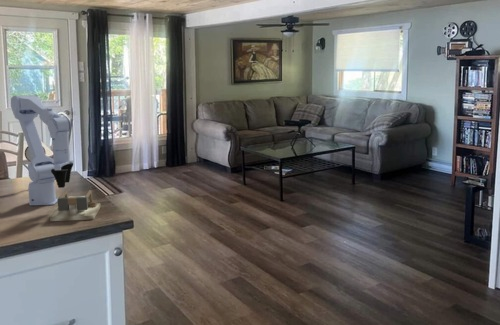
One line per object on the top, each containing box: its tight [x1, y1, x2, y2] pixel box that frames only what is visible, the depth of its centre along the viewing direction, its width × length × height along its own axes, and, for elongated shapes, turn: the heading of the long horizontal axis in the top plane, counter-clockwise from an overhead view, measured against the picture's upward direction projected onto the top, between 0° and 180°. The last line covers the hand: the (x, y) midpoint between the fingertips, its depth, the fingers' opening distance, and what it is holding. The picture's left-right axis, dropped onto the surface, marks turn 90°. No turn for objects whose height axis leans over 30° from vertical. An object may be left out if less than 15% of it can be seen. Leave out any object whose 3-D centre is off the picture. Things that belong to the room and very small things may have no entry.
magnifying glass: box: [24, 146, 47, 163], centre depth 213 cm, size 9×2×20 cm, turn 126°
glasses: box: [57, 189, 93, 211], centre depth 177 cm, size 10×11×4 cm
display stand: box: [49, 195, 101, 222], centre depth 177 cm, size 15×15×6 cm
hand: (63, 184), depth 180 cm, fingers open, 7 cm apart
